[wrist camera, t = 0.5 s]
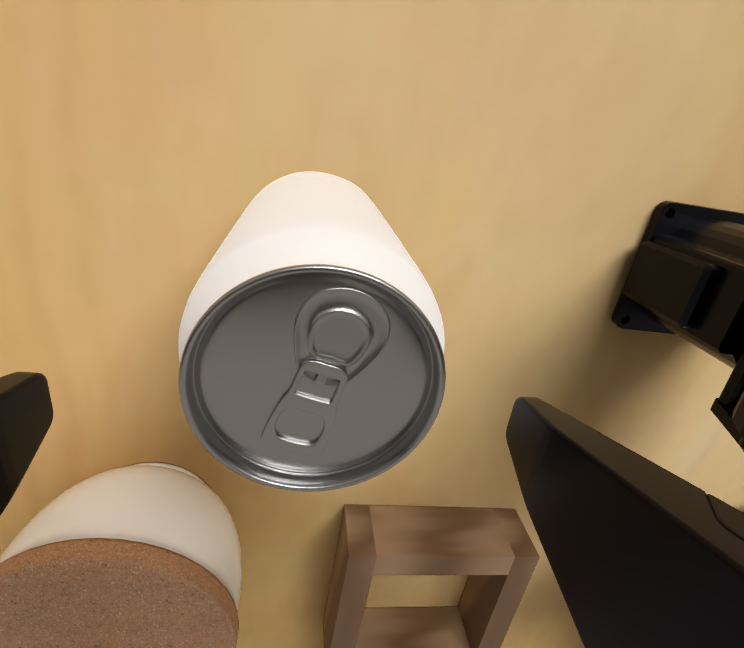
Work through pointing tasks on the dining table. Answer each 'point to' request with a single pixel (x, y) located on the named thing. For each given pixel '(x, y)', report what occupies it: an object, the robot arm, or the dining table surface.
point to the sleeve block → (428, 557)
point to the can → (311, 341)
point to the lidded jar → (125, 566)
